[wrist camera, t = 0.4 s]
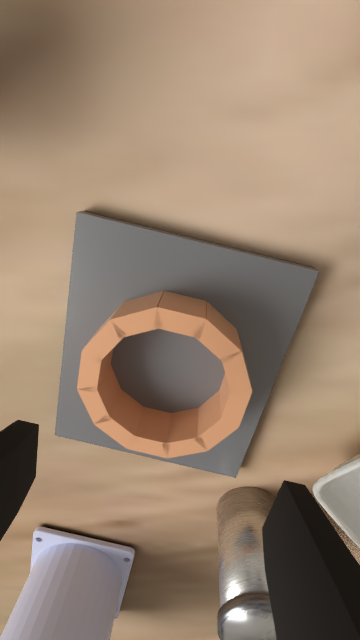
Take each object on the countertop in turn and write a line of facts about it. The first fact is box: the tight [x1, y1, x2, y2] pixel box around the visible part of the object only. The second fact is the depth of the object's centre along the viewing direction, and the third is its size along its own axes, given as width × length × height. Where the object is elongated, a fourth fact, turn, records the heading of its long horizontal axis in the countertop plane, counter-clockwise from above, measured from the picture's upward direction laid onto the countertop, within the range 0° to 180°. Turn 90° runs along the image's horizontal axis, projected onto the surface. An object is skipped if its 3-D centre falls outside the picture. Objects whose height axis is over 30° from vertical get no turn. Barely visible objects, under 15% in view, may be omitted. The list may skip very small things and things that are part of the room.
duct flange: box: [55, 211, 319, 478], centre depth 17 cm, size 14×12×3 cm
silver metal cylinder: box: [217, 487, 277, 640], centre depth 20 cm, size 5×5×7 cm
